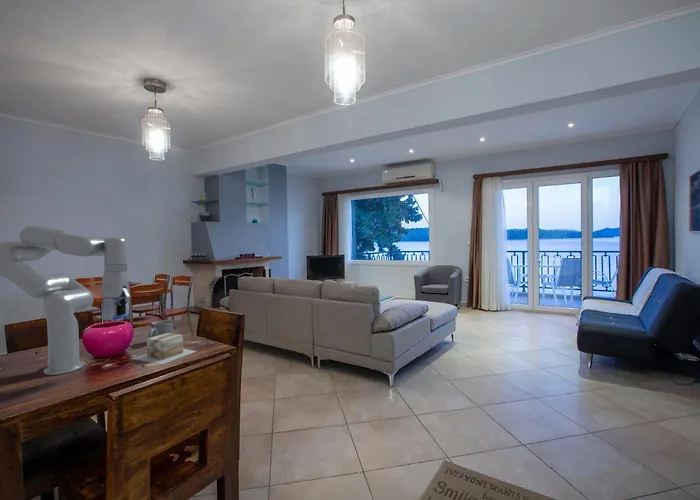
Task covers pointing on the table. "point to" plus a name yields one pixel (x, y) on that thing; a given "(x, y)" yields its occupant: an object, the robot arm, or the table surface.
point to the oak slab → (165, 352)
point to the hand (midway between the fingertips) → (116, 313)
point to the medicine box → (113, 309)
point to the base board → (160, 361)
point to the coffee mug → (161, 328)
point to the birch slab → (164, 341)
